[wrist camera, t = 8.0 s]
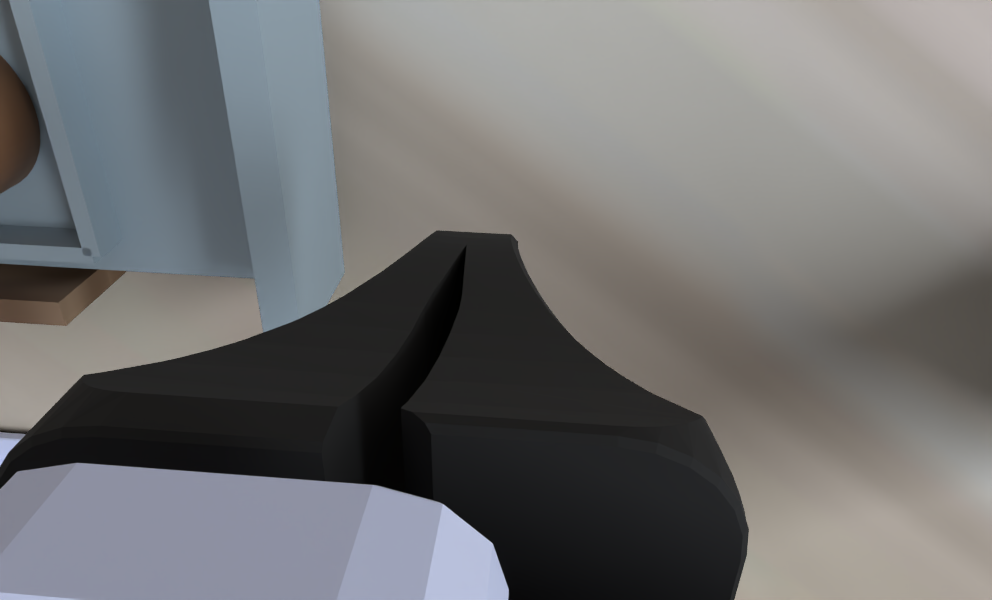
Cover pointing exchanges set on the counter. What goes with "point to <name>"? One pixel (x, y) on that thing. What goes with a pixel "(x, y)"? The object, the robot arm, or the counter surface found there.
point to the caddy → (49, 292)
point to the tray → (178, 144)
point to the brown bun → (16, 129)
